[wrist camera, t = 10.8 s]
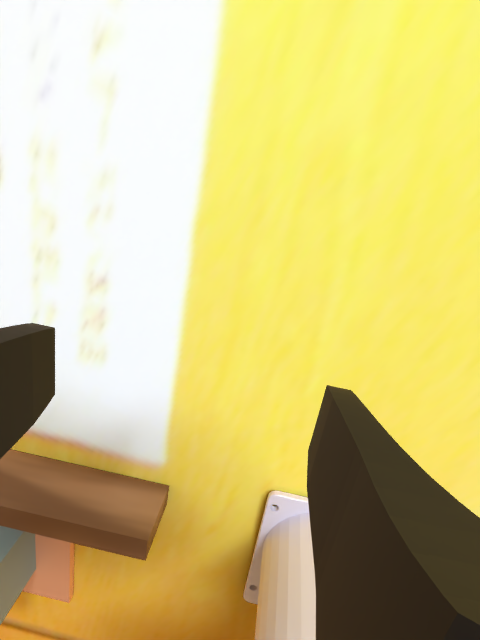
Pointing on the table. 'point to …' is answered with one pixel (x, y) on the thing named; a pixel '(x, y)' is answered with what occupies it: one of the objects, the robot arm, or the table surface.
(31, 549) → the lettered cube
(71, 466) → the walnut plank
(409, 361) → the table surface
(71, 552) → the terracotta tile
